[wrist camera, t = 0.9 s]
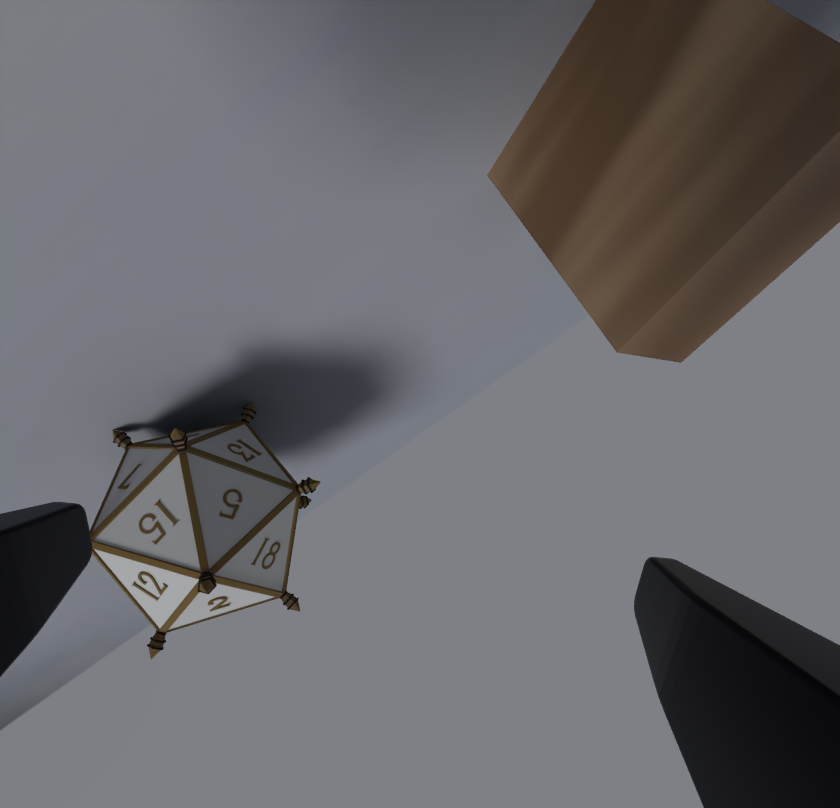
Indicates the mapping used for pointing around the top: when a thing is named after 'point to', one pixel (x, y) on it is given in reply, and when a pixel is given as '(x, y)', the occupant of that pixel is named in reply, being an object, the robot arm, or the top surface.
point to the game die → (199, 525)
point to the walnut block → (678, 163)
